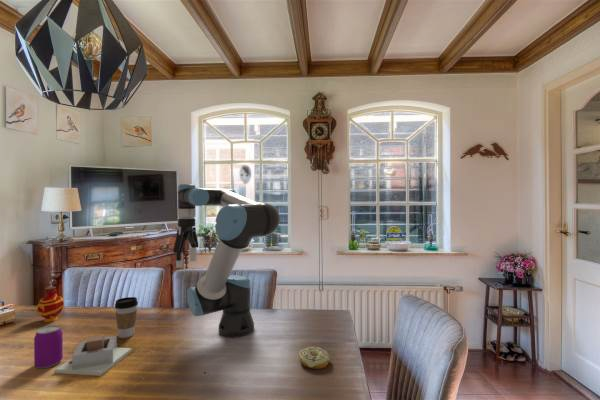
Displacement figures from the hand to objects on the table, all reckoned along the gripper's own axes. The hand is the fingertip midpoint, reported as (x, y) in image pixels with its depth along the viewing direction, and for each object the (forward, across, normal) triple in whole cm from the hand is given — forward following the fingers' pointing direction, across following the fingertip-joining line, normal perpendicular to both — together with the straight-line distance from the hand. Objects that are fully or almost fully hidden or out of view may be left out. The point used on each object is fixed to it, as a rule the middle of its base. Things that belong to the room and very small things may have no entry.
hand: (186, 264), depth 144 cm
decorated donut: (+27, +28, +60) cm, 72 cm away
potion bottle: (+27, +4, -64) cm, 70 cm away
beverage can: (+27, +39, -31) cm, 57 cm away
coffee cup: (+27, +15, -19) cm, 36 cm away
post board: (+27, +36, -16) cm, 48 cm away
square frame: (+26, +36, -16) cm, 47 cm away
